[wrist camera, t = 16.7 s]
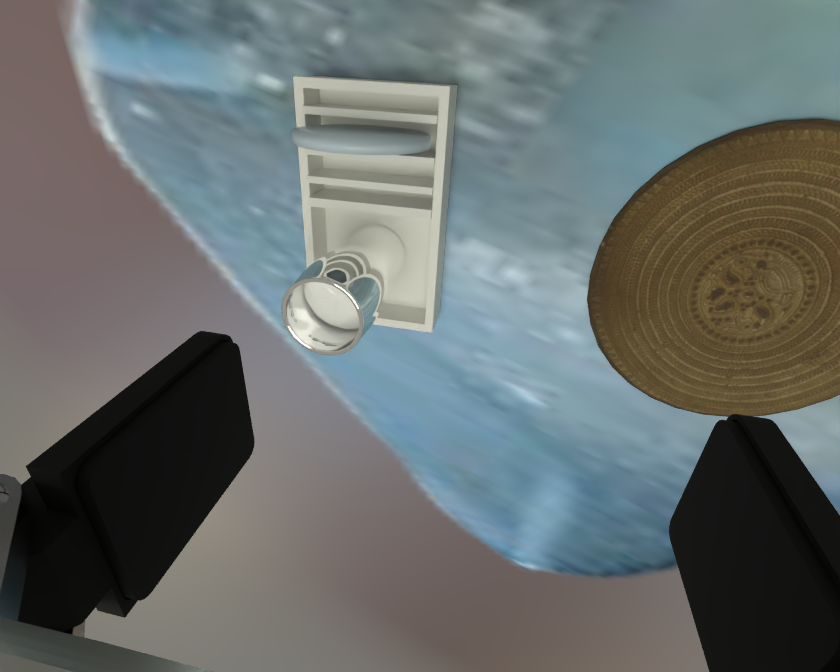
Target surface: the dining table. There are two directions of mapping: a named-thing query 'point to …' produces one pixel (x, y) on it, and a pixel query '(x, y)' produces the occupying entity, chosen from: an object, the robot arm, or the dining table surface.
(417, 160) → the rack
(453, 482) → the dining table surface
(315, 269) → the beer glass
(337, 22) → the dining table surface
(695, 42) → the dining table surface
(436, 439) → the dining table surface
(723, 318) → the decorative disc
